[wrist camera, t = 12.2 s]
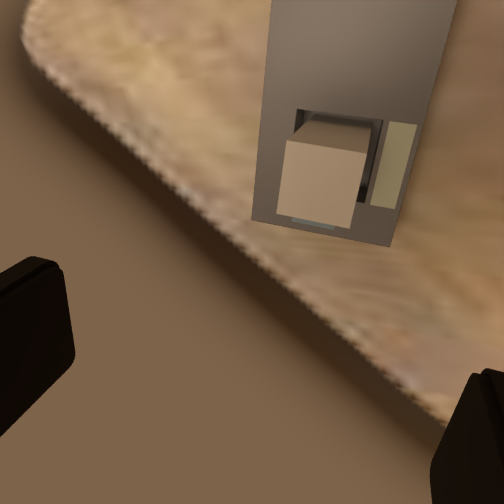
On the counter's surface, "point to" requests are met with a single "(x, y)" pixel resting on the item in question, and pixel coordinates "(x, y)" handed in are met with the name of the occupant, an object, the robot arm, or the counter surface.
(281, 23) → the socket block
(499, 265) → the counter surface
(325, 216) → the plug
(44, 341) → the robot arm
